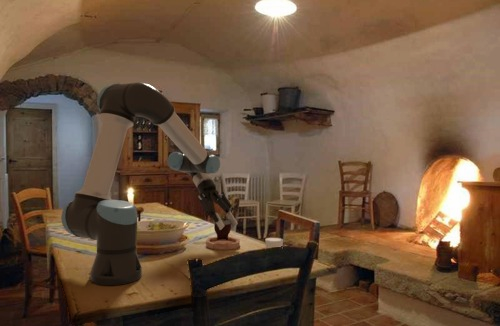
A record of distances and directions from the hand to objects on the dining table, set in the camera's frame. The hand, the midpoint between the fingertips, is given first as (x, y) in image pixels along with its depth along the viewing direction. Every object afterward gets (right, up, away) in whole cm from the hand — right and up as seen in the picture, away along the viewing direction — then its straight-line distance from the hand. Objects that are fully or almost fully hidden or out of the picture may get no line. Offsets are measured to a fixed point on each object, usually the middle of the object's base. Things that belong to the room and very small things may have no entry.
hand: (229, 226), depth 158 cm
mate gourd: (-2, -6, +3) cm, 7 cm away
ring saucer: (-3, -8, +3) cm, 9 cm away
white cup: (+18, -10, -13) cm, 24 cm away
